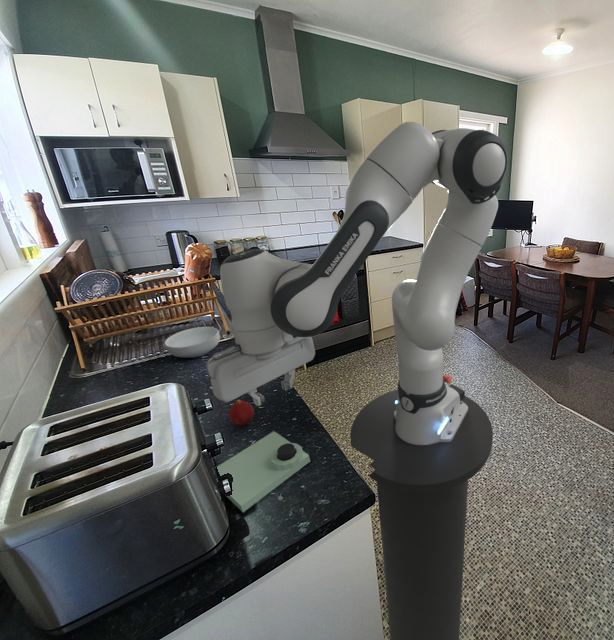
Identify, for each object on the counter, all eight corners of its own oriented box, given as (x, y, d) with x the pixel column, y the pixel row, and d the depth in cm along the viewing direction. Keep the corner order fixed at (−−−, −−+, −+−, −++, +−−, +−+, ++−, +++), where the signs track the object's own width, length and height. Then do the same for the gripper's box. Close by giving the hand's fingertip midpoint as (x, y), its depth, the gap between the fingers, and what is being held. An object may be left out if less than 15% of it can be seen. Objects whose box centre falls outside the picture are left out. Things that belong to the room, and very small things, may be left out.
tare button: (289, 446, 80) (288, 441, 79) (298, 453, 78) (297, 447, 77) (275, 456, 77) (273, 450, 77) (284, 463, 75) (283, 457, 75)
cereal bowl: (190, 342, 136) (185, 325, 134) (232, 342, 136) (227, 326, 133) (158, 364, 121) (152, 346, 118) (204, 365, 120) (199, 347, 117)
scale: (275, 436, 87) (272, 425, 86) (311, 461, 80) (308, 450, 78) (209, 479, 75) (204, 467, 74) (243, 513, 68) (239, 500, 66)
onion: (229, 423, 92) (222, 399, 89) (252, 414, 96) (246, 390, 92) (235, 435, 88) (228, 409, 85) (259, 425, 92) (253, 400, 88)
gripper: (212, 363, 56) (231, 430, 62) (314, 322, 72) (323, 378, 77) (194, 353, 60) (214, 417, 65) (296, 315, 75) (305, 370, 81)
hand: (274, 395), depth 71 cm, fingers open, 5 cm apart
